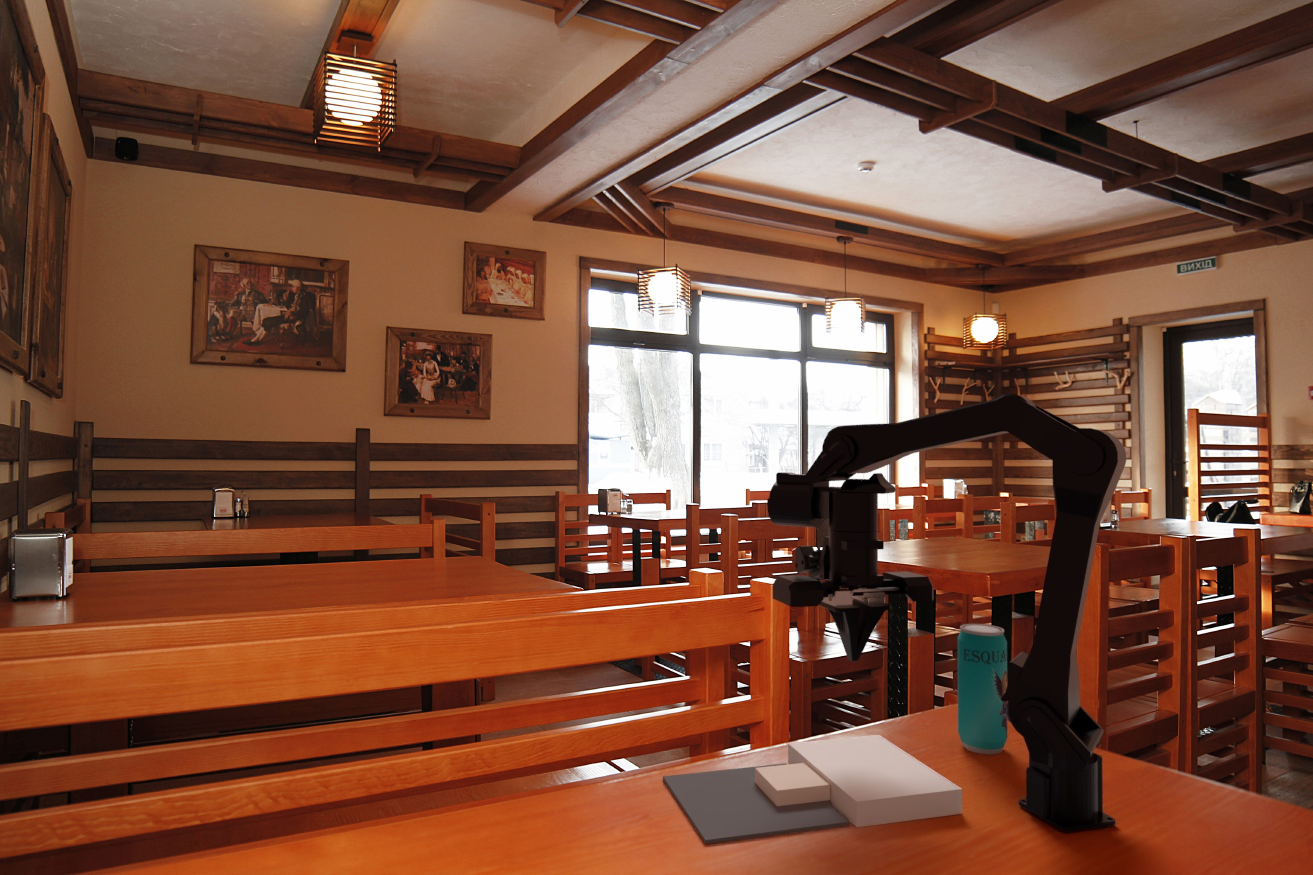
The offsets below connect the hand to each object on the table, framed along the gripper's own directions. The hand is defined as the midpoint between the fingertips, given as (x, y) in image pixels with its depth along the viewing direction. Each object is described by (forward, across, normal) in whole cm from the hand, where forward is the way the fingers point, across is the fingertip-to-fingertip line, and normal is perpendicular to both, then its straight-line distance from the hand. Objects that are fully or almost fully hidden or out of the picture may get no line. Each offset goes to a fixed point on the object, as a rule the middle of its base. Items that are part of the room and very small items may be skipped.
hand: (853, 660), depth 93 cm
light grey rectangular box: (+12, +2, +7) cm, 14 cm away
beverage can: (+12, -18, 0) cm, 22 cm away
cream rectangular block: (+12, +11, +7) cm, 17 cm away
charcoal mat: (+12, +16, +7) cm, 21 cm away
